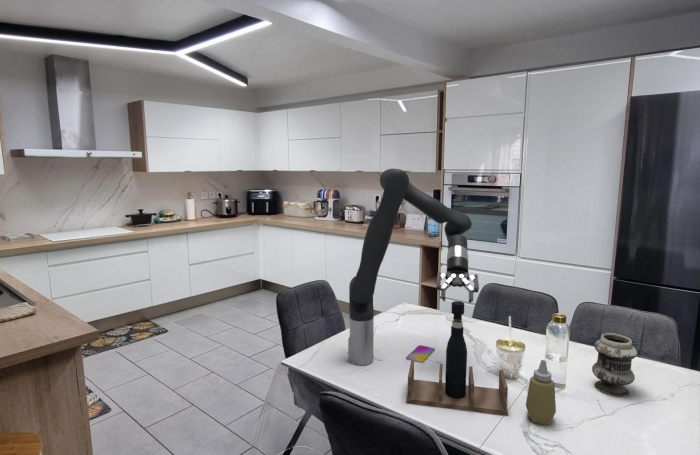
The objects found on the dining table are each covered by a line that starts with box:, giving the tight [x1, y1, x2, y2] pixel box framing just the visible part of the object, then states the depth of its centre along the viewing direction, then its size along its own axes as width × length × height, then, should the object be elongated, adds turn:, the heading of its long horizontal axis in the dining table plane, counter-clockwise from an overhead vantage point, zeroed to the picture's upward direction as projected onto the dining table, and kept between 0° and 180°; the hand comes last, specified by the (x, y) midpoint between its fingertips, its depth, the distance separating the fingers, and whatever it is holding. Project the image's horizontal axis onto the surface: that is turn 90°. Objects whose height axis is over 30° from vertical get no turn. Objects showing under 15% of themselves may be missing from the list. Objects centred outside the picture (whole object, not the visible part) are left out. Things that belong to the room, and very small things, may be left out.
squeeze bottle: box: [525, 359, 557, 425], centre depth 119 cm, size 8×8×18 cm
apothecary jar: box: [591, 332, 638, 397], centre depth 136 cm, size 12×12×18 cm
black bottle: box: [444, 300, 468, 399], centre depth 130 cm, size 6×6×30 cm
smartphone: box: [405, 344, 436, 364], centre depth 165 cm, size 7×1×15 cm
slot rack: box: [405, 360, 509, 417], centre depth 131 cm, size 30×13×8 cm, turn 77°
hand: (457, 301), depth 140 cm, fingers open, 8 cm apart
